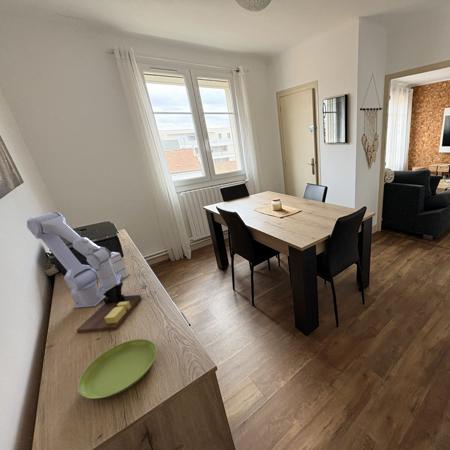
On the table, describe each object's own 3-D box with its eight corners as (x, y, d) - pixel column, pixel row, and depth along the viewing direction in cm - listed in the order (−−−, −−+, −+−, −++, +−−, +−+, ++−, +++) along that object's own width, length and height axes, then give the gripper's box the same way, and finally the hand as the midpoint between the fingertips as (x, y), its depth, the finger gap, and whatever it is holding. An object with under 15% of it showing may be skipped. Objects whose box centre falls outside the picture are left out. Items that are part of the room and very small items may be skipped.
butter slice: (119, 310, 104) (116, 305, 103) (122, 307, 106) (119, 301, 105) (128, 309, 104) (126, 304, 103) (131, 306, 106) (129, 301, 105)
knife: (104, 303, 109) (102, 299, 108) (108, 300, 111) (106, 295, 110) (140, 300, 109) (138, 296, 108) (143, 297, 111) (141, 293, 111)
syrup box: (129, 275, 134) (120, 252, 128) (118, 281, 129) (109, 257, 123) (122, 273, 136) (113, 251, 130) (111, 279, 130) (101, 256, 125)
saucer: (89, 422, 64) (85, 414, 63) (76, 376, 77) (72, 369, 76) (168, 366, 79) (166, 359, 78) (146, 336, 92) (143, 329, 90)
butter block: (106, 323, 97) (104, 318, 96) (117, 312, 103) (114, 307, 102) (116, 322, 97) (114, 317, 96) (126, 312, 103) (124, 306, 102)
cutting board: (77, 332, 95) (76, 329, 95) (108, 302, 112) (107, 300, 111) (116, 329, 96) (114, 326, 95) (141, 299, 112) (140, 297, 112)
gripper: (104, 283, 98) (115, 310, 103) (126, 265, 112) (135, 289, 117) (86, 285, 98) (98, 311, 103) (110, 266, 111) (120, 290, 116)
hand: (117, 299), depth 110 cm, fingers closed on knife, 2 cm apart
